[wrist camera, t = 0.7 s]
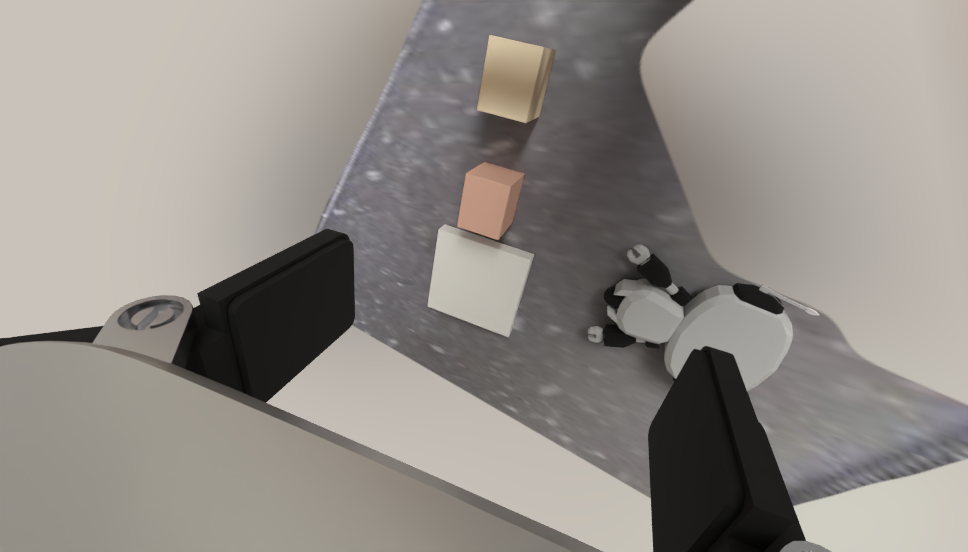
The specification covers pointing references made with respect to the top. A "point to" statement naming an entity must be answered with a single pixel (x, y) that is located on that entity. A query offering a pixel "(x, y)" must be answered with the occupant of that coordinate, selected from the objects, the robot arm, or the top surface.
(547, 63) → the beech brick
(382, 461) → the robot arm
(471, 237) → the base plate
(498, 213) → the clay brick
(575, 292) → the top surface
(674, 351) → the robot toy
